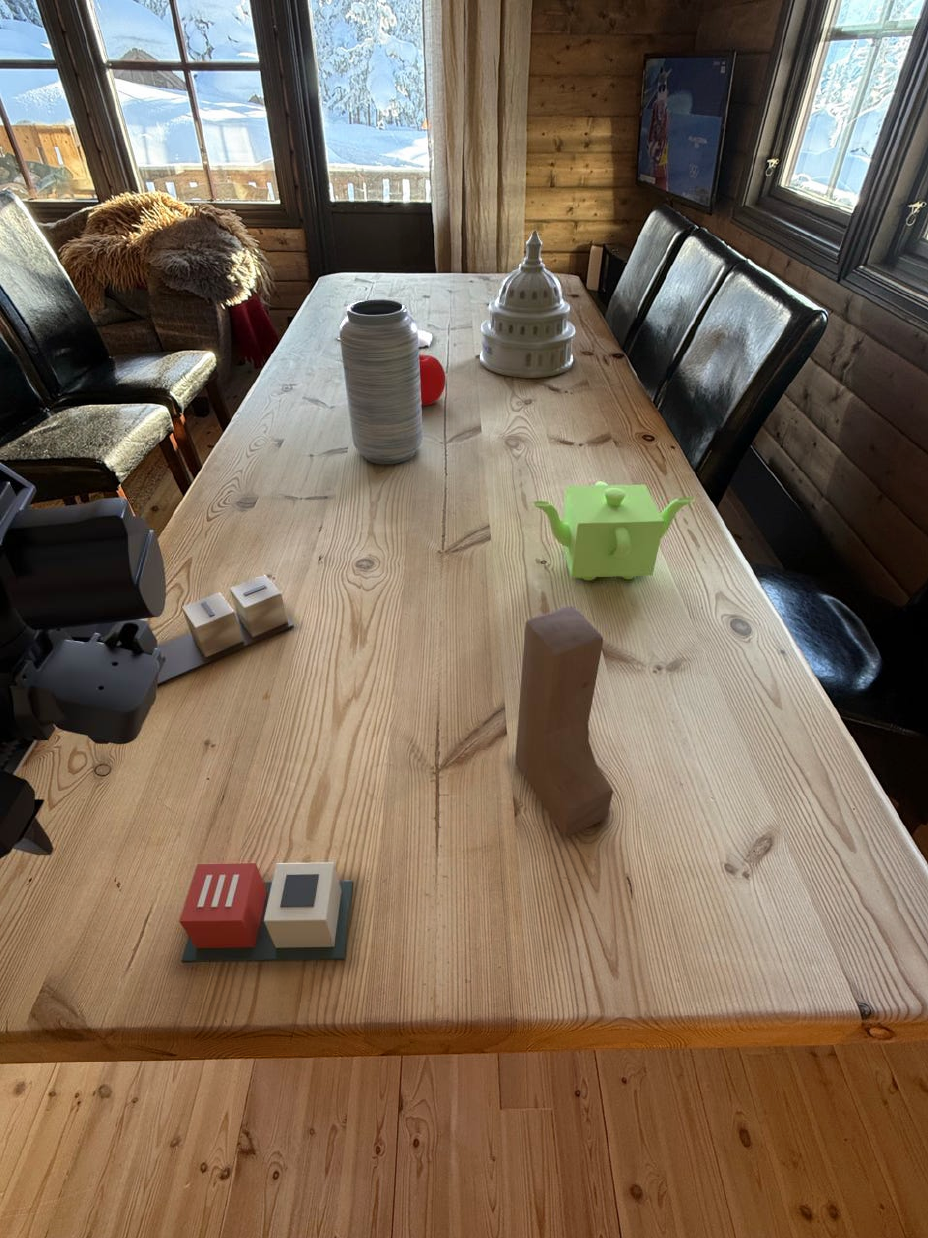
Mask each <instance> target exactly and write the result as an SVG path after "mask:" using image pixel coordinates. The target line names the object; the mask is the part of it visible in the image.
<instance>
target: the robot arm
mask: <svg viewBox="0 0 928 1238" xmlns="http://www.w3.org/2000/svg"><path fill="white" fill-rule="evenodd" d="M36 493H37V487H36V486H35V485H34V484H33V483H31V482H29V481H28V480H27V479H26V478H23V477H22V476H21V475H19V474H18V473H16V472H15V471H13V470H12V469H10V468H8V467H7V466H5V465H4V464H3V463H1V462H0V860H1V859H3V858H4V857H6V856H8V855H9V854H11V852H12V851H13V850H16V851H19V852H23V853H26V854H31V855H35V856H51V855H52V854H53V852H54V847H53V844H52V841H51V839H50V836H49V835H48V833H47V832H46V831H45V829H44V828H43V826H42V824H41V823H40V822H39V820H38V818H37V816H38V814H39V813H40V810H41V808H42V807H43V805H44V803H45V799H44V798H36V791H35V789H34V788H33V787H32V785H31V784H30V782H29V781H28V780H27V779H25V778H22V777H20V776H18V773H19V772H20V771H21V769H22V767H23V766H24V764H25V763H26V761H27V759H28V757H29V756H30V754H31V753H32V751H33V750H34V748H35V747H36V745H37V743H38V742H39V741H49V740H50V739H51V737H52V735H53V734H54V732H55V730H56V728H57V729H58V730H60V731H63V732H67V733H73V734H76V735H81V736H86V737H87V738H89V739H90V740H91V741H92V742H93V743H95V744H97V745H108V744H113V745H126V744H129V743H131V742H133V741H135V740H136V739H137V738H138V737H139V735H140V734H141V731H142V729H143V725H144V723H145V721H146V719H147V717H148V715H149V713H150V711H151V709H152V707H153V706H154V704H155V702H156V699H157V691H158V687H157V683H158V675H159V673H160V671H161V669H162V667H163V665H164V663H165V661H166V658H165V656H164V655H163V654H161V649H157V646H158V639H157V638H156V635H155V634H154V632H153V630H152V628H151V627H150V624H149V623H148V622H147V620H145V619H152V618H153V619H154V618H160V616H162V615H163V612H164V610H165V606H166V600H167V582H166V581H167V580H166V571H165V564H164V558H163V554H162V549H161V546H160V543H159V539H158V537H157V534H156V532H155V530H151V529H150V527H149V525H148V523H147V521H146V520H145V519H144V518H143V517H142V516H141V515H139V514H137V515H135V514H134V513H133V511H132V507H131V505H130V502H129V500H128V499H127V498H125V497H123V496H121V497H107V498H101V499H96V500H93V501H91V502H87V503H81V504H71V505H60V506H50V507H48V506H47V507H38V508H37V507H36V508H32V507H31V505H30V504H31V502H32V500H33V499H34V497H35V495H36Z"/></svg>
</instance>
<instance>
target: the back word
mask: <svg viewBox="0 0 928 1238" xmlns="http://www.w3.org/2000/svg"><path fill="white" fill-rule="evenodd" d="M228 589H229V592H230V595H231V598H232V599H231V600H232V602H233V605H234V608H235V610H234V609H233V608H232V607H231V605H230V603H228V601H227V600H226V598H225V597H224V596H223V594H222V593H221V592H220V591H219V592H217V593H214V594H212V595H209V596H207V597H204V598H202V599H198V600H196V601H193V602H191V603H188V604H186V605H183V606H181V610H182V613H183V615H184V618H185V620H186V623H187V626H188V629H189V632H188V633H186V634H183V635H181V636H179V637H176V638H174V639H171V640H169V641H166V642H164V643H162V644H159V645H157V649H161V654H163V655H164V656H165V658H166V661H165V663H164V665H163V667H162V669H161V671H160V673H159V675H158V683H157V688H159V687H160V686H163V685H165V684H167V683H169V682H172V681H174V680H176V679H179V678H180V677H183V676H186V675H188V674H190V673H193V672H195V671H197V670H200V669H202V668H205V667H207V666H209V665H212V664H213V663H216V662H218V661H220V660H222V659H224V658H227V657H229V656H231V655H234V654H235V653H238V652H240V651H243V650H245V649H248V648H250V647H252V646H255V645H256V644H259V643H262V642H264V641H266V640H268V639H271V638H273V637H276V636H278V635H280V634H283V633H284V632H287V631H289V630H292V629H294V628H295V624H293V622H292V621H291V620H290V618H288V615H287V612H286V607H285V603H284V599H283V594H282V592H281V591H280V590H279V588H278V587H277V586H276V585H275V584H274V583H273V582H272V581H271V579H270V578H269V577H268V576H267V575H266V574H262V575H260V576H258V577H254V578H253V579H250V580H248V581H244V582H242V583H240V584H237V585H234V586H232V587H230V588H228Z"/></svg>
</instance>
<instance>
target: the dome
mask: <svg viewBox="0 0 928 1238" xmlns="http://www.w3.org/2000/svg"><path fill="white" fill-rule="evenodd" d="M525 245H526V249H525V250H526V251H525V257H524V258H523V262H521V263H520V264H519V266H518V268H515V269H514V270H512V271H510V272H509V273H508V274H507V275H506V276H505V277H504V278H503V280H502V282H501V284H500V287H499V290H498V295H497V298H495V299H492V301H490V303H489V305H488V312H489V318H488V319H486V320H484V321H483V322H482V323H481V325H480V332H481V336H482V337H481V352H480V354H479V361H480V363H481V365H482V366H483V367H484V368H486V369H487V370H489V371H491V372H493V373H496V374H498V375H501V376H507V377H511V378H512V377H513V378H523V379H539V378H548V377H554V376H558V375H560V374H563V373H565V372H568V371H569V369H570V368H571V367H572V365H573V362H574V356H573V354H572V351H573V341H574V338H575V336H576V327H575V326H574V325H573V324H572V322H570V321H568V317H569V314H570V311H571V306H570V304H569V302H567V301H566V300H564V299H563V293H562V286H561V284H560V282H559V279H558V278H557V276H555V274H553V272H551V271H550V270H548V269H546V264H545V263H543V262H542V261H543V259H542V246H543V241H542V240H541V239H540V236H539V234H538V230H536V229H534V230H532V232H531V234H530V237H529V239H528V240H527V241H526V243H525Z"/></svg>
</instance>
